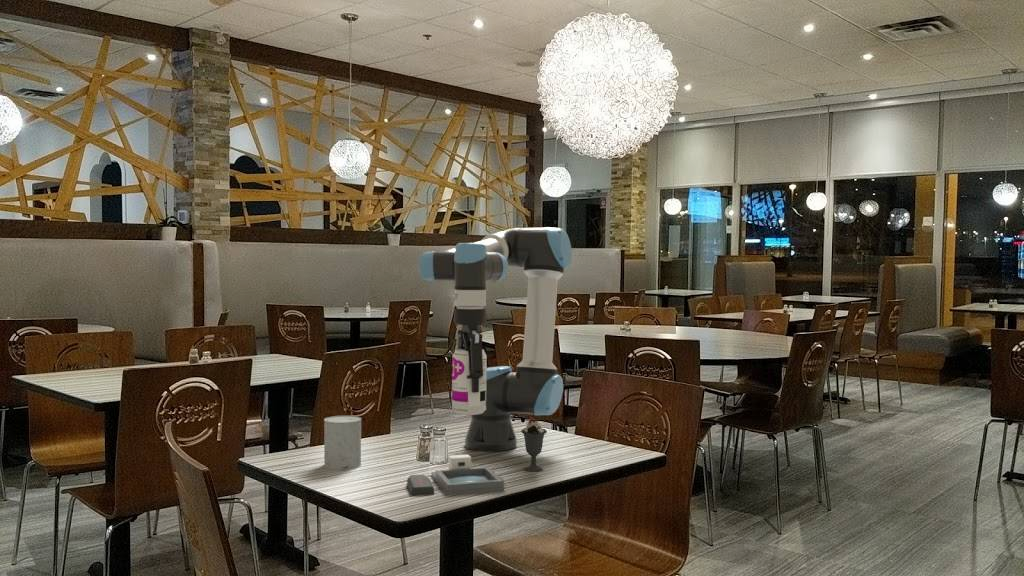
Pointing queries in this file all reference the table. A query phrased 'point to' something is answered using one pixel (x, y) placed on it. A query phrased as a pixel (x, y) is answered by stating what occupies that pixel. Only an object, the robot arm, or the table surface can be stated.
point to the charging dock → (467, 477)
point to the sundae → (533, 442)
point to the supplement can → (466, 384)
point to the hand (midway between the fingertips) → (469, 402)
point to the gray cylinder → (342, 442)
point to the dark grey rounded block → (420, 485)
